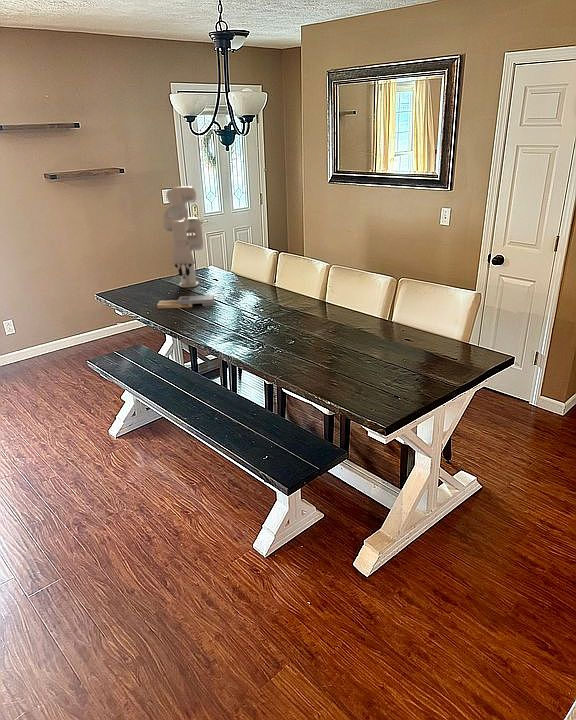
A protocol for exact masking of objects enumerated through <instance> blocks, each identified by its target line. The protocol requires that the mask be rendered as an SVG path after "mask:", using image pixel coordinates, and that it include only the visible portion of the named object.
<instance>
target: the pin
mask: <svg viewBox="0 0 576 720" xmlns="http://www.w3.org/2000/svg"><path fill="white" fill-rule="evenodd" d="M180 265H181V273H182V279H187V278H188V276H187V271H186V269H187V267H186V264H180Z"/></svg>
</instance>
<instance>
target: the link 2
mask: <svg viewBox="0 0 576 720" xmlns="http://www.w3.org/2000/svg"><path fill="white" fill-rule="evenodd" d="M177 300H178V301H177V302H178V304H193V305H194V304H202V307H214V304H215V295H214V294H212V295H211V294H210V295H209V294H208V295H204V294H203V295H186V296H185V295H184V296H183V295H182V296H179V297H178V299H177Z"/></svg>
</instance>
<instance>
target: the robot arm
mask: <svg viewBox="0 0 576 720" xmlns="http://www.w3.org/2000/svg"><path fill="white" fill-rule="evenodd" d="M166 198H167V200H168V203H169V204H170V206H168V207H167V209H165V211H164V212H163V214H162V215H163V217H162V220H163V221H162V222H163V223H162V225H163V229H164V231H165V232H167V233H171V234H172V240H173V245H172V261H171V266H172V267H173V266H174V267H175V268H176V269H177V270H178V274H179V275H180V276H179V277H180V283H179V284H178V286H179V287H180V288H187V289H188V288H194V287H196V286H197V287H198V285H199V283H200V282H199V281H197V280H196V279H197V277H196V270H195V264H196V261H195V260H194V256H193V255H192V252H193V251H195V252H196V251H201V250H203V248H204V237H203V231H202V222H201V220H200V218H199V217H196V216H193V217H192V216H190V217H189V213H188V208H187V207H186V203H187V204H188V203H195V202H196V200H197V191H196V190H195V188H194V187H193V186H191V185H188V186H187V185H186V186H174V187H172V188H171V189H168V190H167V191H166ZM188 234H193V235H188ZM180 264H186V267H187V269H186V271H187V276H188V278H187V279H182V273H181V265H180Z"/></svg>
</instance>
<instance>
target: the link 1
mask: <svg viewBox="0 0 576 720" xmlns="http://www.w3.org/2000/svg"><path fill="white" fill-rule="evenodd" d="M177 301H178V299H170V300H169V299H168V300H159V301H158V302H157V304H156V308H157V309H160V310H161V309H176V308H177V309H178V308H182V309H183V308H193V306H194V304H178V302H177Z"/></svg>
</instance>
